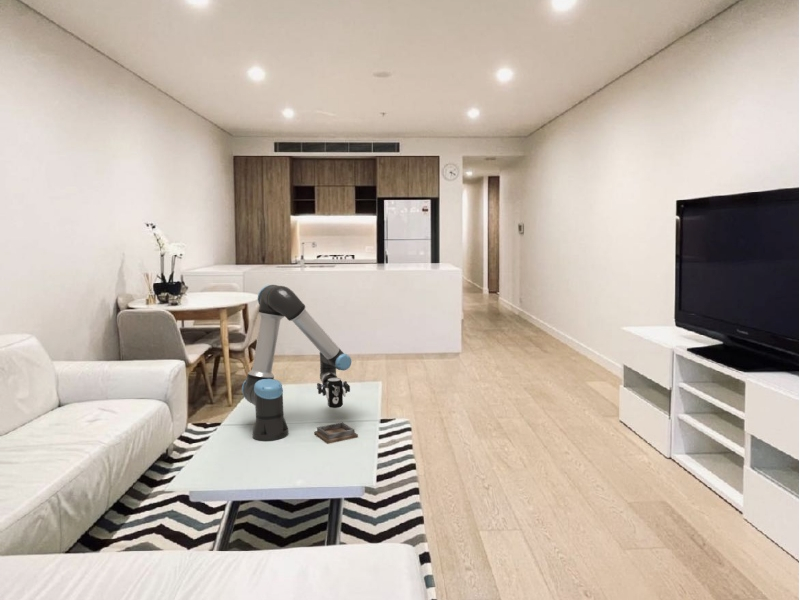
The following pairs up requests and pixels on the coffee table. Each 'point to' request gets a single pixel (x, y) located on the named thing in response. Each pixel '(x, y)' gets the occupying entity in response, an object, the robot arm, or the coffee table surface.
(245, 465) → the coffee table surface
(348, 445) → the coffee table surface
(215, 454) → the coffee table surface
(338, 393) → the beverage can
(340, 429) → the tray
